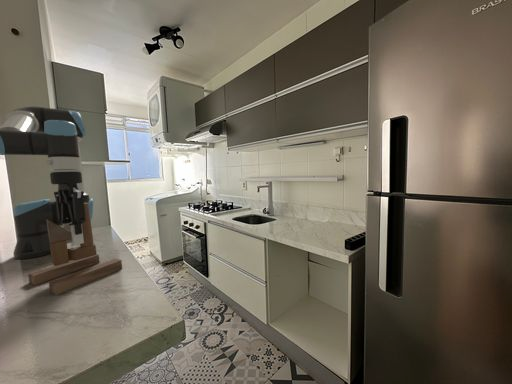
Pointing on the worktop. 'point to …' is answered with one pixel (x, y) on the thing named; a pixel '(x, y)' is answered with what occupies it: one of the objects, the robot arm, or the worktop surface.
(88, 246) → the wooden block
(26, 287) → the worktop surface
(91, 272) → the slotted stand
